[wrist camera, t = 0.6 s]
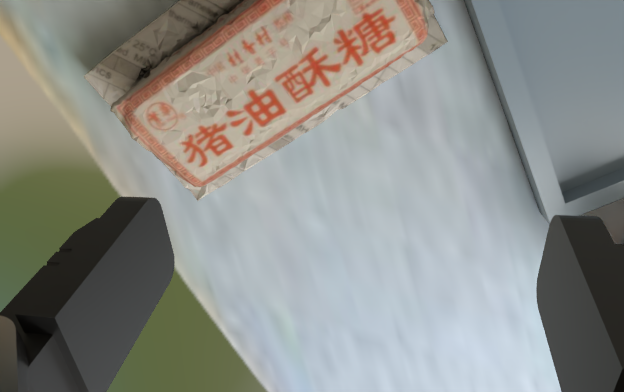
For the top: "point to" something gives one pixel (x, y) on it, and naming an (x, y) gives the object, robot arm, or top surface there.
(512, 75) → the tray
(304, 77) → the packaged product
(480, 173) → the top surface
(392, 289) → the top surface
